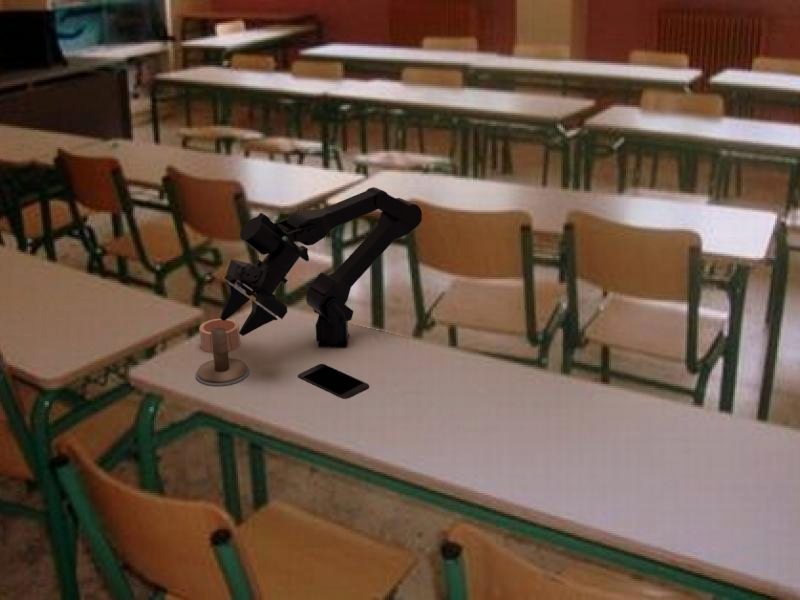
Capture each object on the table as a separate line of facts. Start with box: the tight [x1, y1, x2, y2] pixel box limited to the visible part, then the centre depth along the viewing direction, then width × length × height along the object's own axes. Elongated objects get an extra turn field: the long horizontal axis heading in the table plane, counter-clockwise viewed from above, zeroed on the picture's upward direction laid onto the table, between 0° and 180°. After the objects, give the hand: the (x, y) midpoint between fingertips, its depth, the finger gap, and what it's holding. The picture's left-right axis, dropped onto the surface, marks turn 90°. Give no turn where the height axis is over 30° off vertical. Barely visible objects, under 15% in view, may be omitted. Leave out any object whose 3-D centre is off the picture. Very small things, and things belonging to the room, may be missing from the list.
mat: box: [195, 364, 250, 387], centre depth 200 cm, size 11×11×1 cm
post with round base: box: [197, 328, 247, 383], centre depth 198 cm, size 10×10×10 cm
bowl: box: [198, 318, 242, 354], centre depth 212 cm, size 8×8×4 cm
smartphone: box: [297, 363, 370, 400], centre depth 196 cm, size 7×15×1 cm, turn 46°
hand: (231, 327), depth 197 cm, fingers open, 9 cm apart
